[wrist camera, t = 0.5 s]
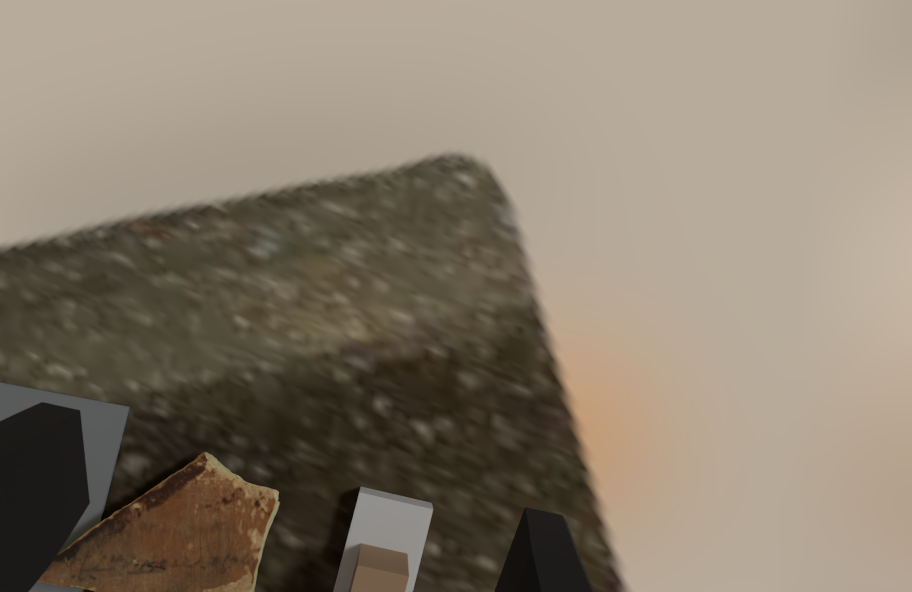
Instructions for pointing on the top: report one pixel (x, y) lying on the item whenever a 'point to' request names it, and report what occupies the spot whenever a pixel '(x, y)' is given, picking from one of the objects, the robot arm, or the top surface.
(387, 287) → the top surface
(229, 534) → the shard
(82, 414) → the felt mat
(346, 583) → the grout float
